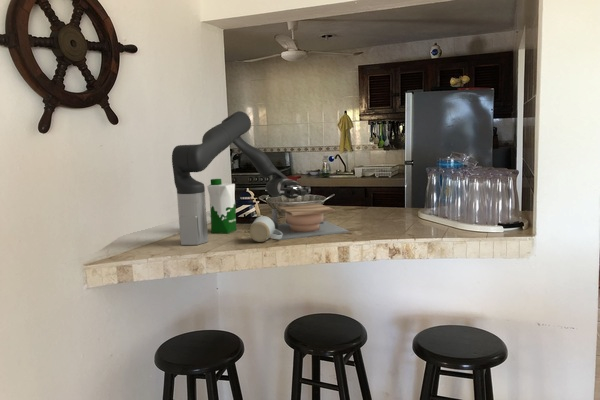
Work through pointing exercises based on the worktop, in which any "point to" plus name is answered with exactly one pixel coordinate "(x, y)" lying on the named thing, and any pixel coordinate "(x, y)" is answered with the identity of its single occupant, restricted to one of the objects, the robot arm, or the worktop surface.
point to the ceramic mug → (264, 229)
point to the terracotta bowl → (304, 222)
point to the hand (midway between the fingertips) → (302, 193)
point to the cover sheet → (305, 209)
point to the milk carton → (222, 206)
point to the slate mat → (324, 230)
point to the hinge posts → (275, 220)
